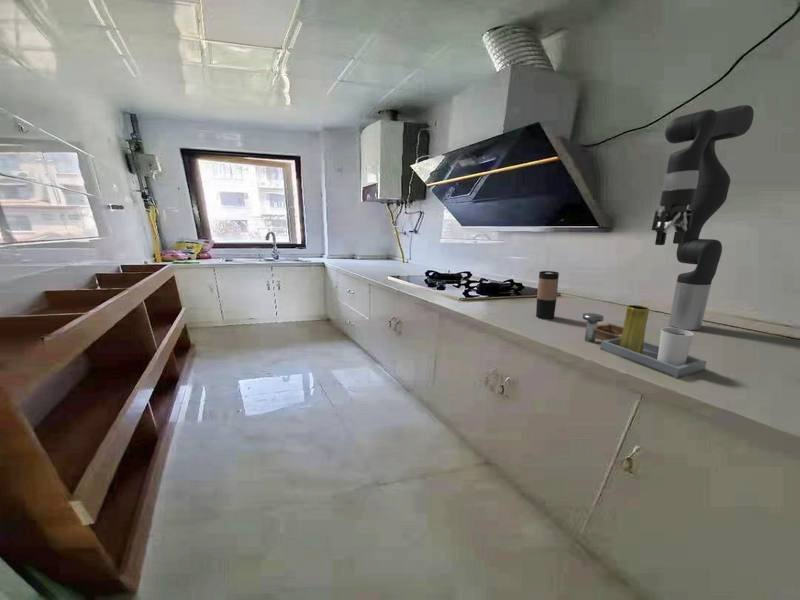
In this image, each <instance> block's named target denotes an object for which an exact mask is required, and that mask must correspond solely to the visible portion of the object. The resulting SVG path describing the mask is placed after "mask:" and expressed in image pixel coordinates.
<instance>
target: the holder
mask: <svg viewBox="0 0 800 600" xmlns="http://www.w3.org/2000/svg"><path fill="white" fill-rule="evenodd" d="M623 327H624V326H620V325H616V324H612V323H609V322H608V323H602V324H597V330H596V337H595V339H596V340H600V341H604V340H609V339H614V338H618V337H622V332H623Z"/></svg>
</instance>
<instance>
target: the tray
mask: <svg viewBox="0 0 800 600" xmlns="http://www.w3.org/2000/svg"><path fill="white" fill-rule="evenodd" d="M600 342H601V343H600V349H599V350H602V351H604V352H606V353H609V354H612V355H615V356H617V357H620V358H622V359H625V360H627V361H630V362H633V363H636V364H637V365H640V366H644V367H646V368H648V369H650V370H653V371H656V372H658V373H661V374H663V375H666V376H668V377H672V378H675V380H676V379H680V378H684V377H687V376H690V375H693V374H696V373H697V374H698V373H701V372H703V371H705V370H706V366H707V362H708V361H707V360H705V359H702V358H700V357H696V356H692V355H690V354H688V356H687V360H686V363H685V364H684V365H681V366H674V365H671V364H668V363H665V362H662V361H660V360H657V358H658V351H659V344H654V343H651V342H648V341H645V340H644V346H643V353H642V354H640V353H637V352H634V351H631V350H629V349H626V348H623V347H620V343H621V337H618V338H614V339H609V340H604V341H603V340H600Z"/></svg>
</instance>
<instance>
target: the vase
mask: <svg viewBox="0 0 800 600" xmlns="http://www.w3.org/2000/svg"><path fill="white" fill-rule="evenodd" d="M649 313H650V308H649V307H647V306H643V305H637V304H629V305H627V307H626V314H625V318H624V322H623V326H622V327H623V332H622V337H621V343H620V347H623V348H626V349H629V350H631V351H634V352H637V353H640V354H642V353H643V346H644V341H645V338H646V337H645V336H646V330H647V322H648V317H649Z"/></svg>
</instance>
